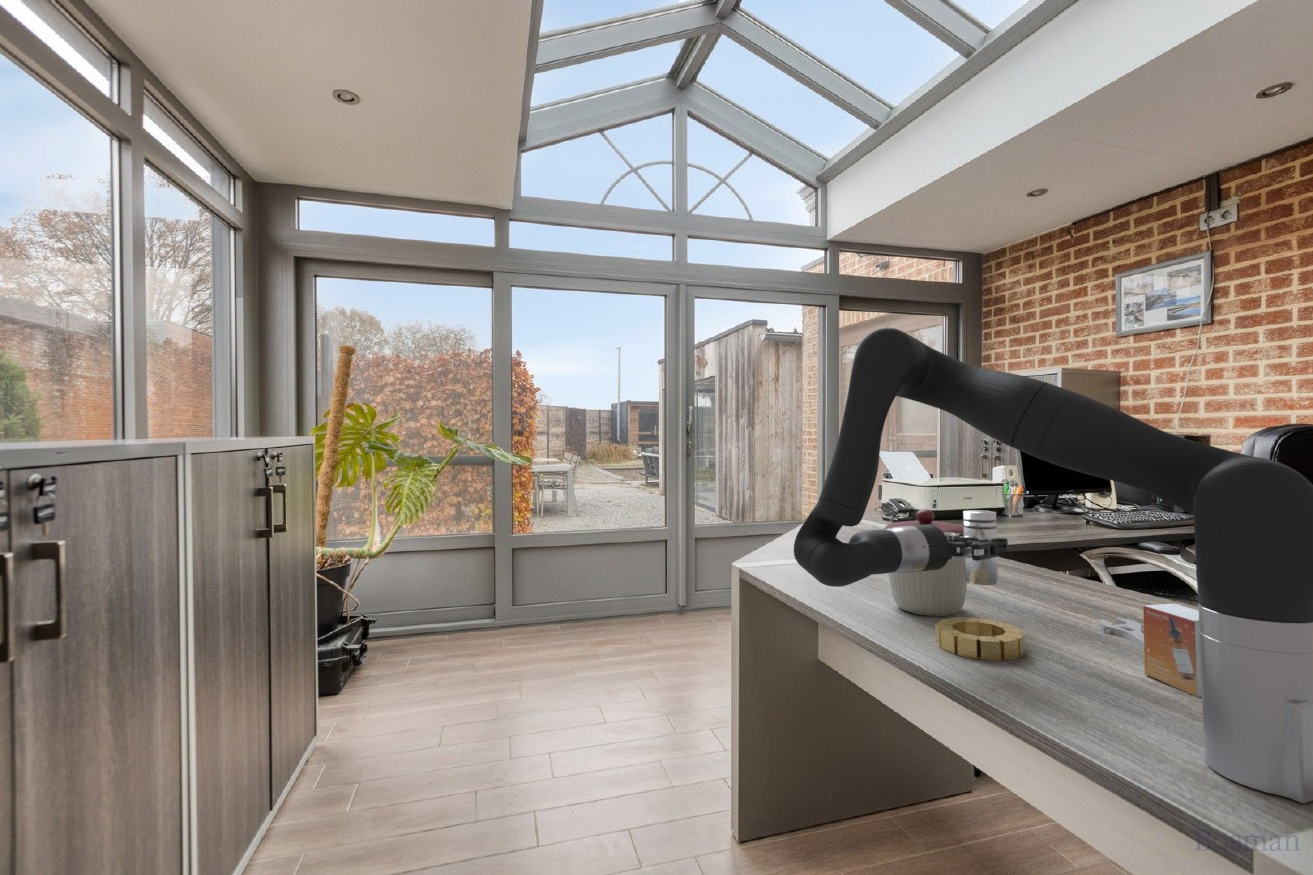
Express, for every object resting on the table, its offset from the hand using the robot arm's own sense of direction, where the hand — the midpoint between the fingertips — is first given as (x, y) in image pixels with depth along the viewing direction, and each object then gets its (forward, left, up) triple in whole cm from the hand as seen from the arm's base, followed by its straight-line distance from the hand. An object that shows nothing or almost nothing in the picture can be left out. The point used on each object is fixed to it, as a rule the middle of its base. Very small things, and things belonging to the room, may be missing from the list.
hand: (991, 541), depth 104 cm
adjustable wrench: (-10, -21, -18) cm, 30 cm away
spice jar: (0, +3, -7) cm, 7 cm away
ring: (+1, +3, -18) cm, 18 cm away
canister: (+22, -5, -18) cm, 29 cm away
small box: (-22, -11, -18) cm, 31 cm away
